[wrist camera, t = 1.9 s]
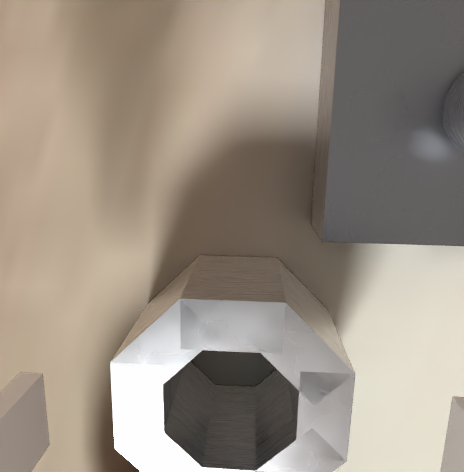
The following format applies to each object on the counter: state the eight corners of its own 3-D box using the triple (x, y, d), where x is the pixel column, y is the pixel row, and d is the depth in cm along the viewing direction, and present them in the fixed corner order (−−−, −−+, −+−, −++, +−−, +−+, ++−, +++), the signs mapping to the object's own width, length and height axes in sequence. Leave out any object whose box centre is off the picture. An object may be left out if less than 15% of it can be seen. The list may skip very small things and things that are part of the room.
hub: (150, 414, 20) (117, 503, 15) (146, 253, 18) (106, 295, 13) (319, 423, 20) (341, 517, 15) (332, 259, 18) (362, 305, 13)
